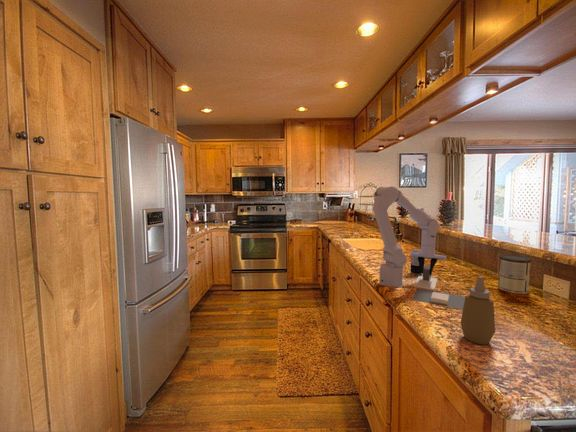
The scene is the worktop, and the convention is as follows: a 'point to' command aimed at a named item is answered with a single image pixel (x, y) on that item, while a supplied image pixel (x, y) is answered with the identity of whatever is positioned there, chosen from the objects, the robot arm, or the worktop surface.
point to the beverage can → (415, 264)
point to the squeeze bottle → (478, 314)
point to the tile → (440, 298)
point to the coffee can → (514, 274)
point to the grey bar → (426, 277)
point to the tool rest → (434, 281)
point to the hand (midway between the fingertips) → (426, 274)
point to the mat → (453, 302)
